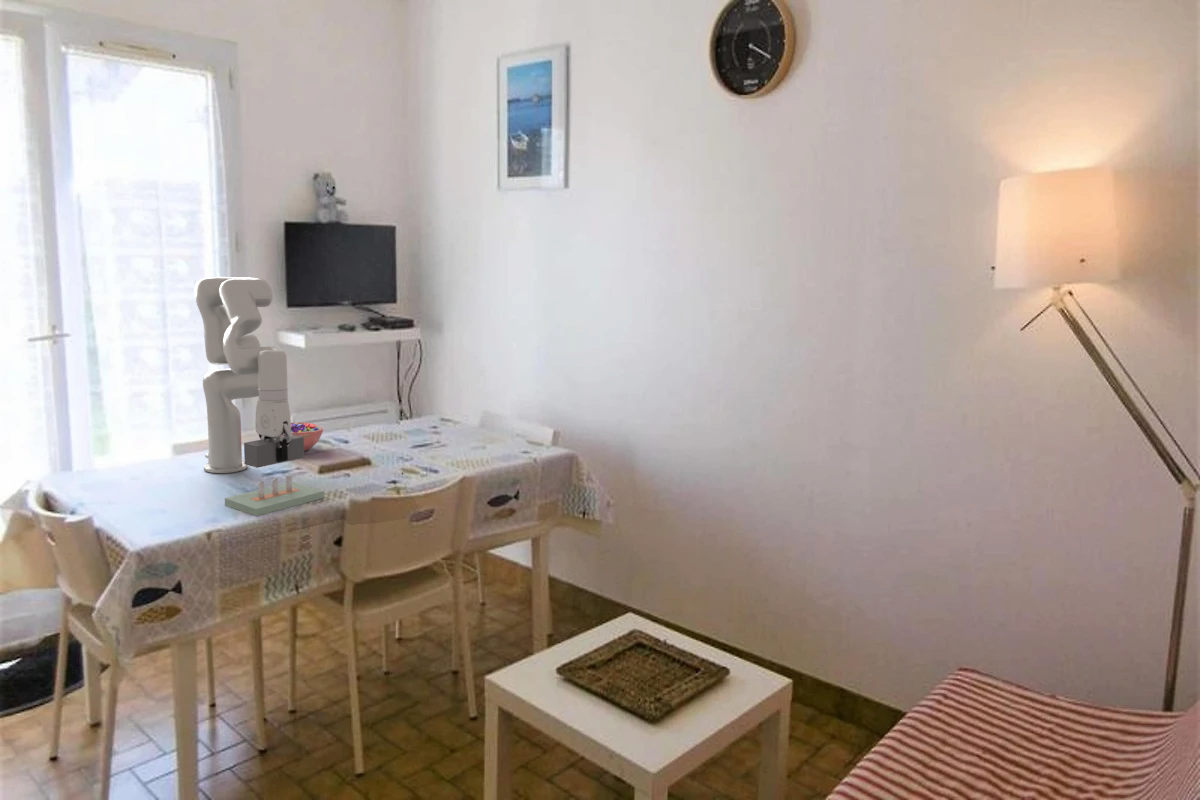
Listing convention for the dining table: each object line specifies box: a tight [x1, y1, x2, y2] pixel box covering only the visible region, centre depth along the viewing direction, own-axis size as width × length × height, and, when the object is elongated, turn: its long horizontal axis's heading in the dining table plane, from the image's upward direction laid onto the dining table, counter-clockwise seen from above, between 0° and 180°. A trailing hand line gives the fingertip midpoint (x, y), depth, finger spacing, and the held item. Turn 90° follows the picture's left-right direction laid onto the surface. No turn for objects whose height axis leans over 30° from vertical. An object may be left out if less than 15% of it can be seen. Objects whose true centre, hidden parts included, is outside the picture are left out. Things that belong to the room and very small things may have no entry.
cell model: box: [281, 422, 324, 452], centre depth 293 cm, size 17×20×11 cm
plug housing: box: [243, 434, 310, 469], centre depth 238 cm, size 6×19×6 cm, turn 146°
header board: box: [224, 474, 325, 517], centre depth 239 cm, size 14×22×6 cm, turn 146°
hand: (275, 458), depth 237 cm, fingers closed on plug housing, 5 cm apart
